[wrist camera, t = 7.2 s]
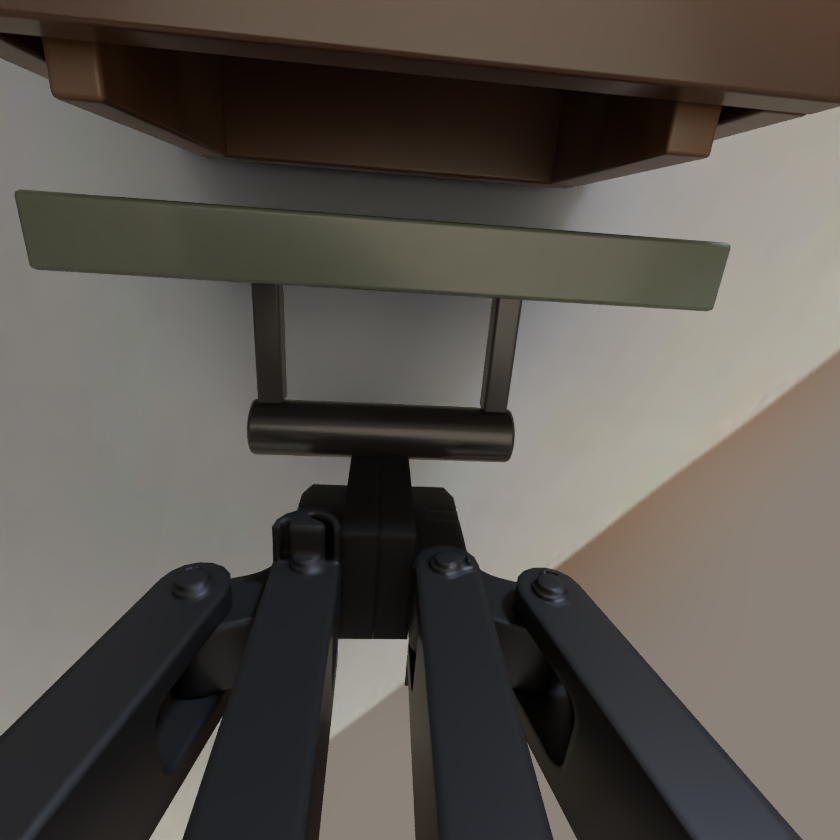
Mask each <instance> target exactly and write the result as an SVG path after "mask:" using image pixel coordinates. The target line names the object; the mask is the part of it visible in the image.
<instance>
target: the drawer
mask: <svg viewBox="0 0 840 840" xmlns="http://www.w3.org/2000/svg"><path fill="white" fill-rule="evenodd" d="M41 38H42V43H43V49H44V55H45V60H46V66H47V71H48V77H49V83H50V88H51V92H52V94H53V96H54V97H55V98H57V99H59V100H61V101H64V102H66V103H69V104H71V105H74V106H77V107H79V108H82V109H84V110H87V111H89V112H92V113H94V114H97V115H99V116H102V117H105V118H107V119H110V120H112V121H115V122H117V123H120V124H122V125H125V126H127V127H130V128H132V129H135V130H138V131H140V132H143V133H145V134H148V135H150V136H153V137H155V138H158V139H160V140H163V141H166V142H168V143H171V144H173V145H176V146H178V147H181V148H183V149H186V150H188V151H191V152H194V153H196V154H199V155H201V156H204V157H206V158H209V159H218V160H230V161H242V162H254V163H266V164H279V165H291V166H303V167H315V168H327V169H339V170H351V171H363V172H375V173H387V174H399V175H411V176H423V177H435V178H447V179H459V180H471V181H483V182H495V183H507V184H519V185H531V186H543V187H555V188H569V187H574V186H580V185H585V184H589V183H594V182H598V181H603V180H608V179H612V178H617V177H621V176H626V175H630V174H635V173H640V172H644V171H649V170H653V169H658V168H662V167H667V166H672V165H676V164H681V163H685V162H690V161H694V160H699V159H703V158H707V157H708V156H709V155H710V152H711V148H712V144H713V140H714V136H715V132H716V128H717V124H718V120H719V116H720V112H721V108H722V105H713V104H704V103H694V102H684V101H674V100H664V99H654V98H644V97H634V96H625V95H615V94H605V93H595V92H585V91H575V90H565V89H555V88H546V87H536V86H526V85H516V84H506V83H496V82H486V81H476V80H467V79H457V78H447V77H437V76H427V75H417V74H407V73H397V72H388V71H378V70H368V69H358V68H348V67H338V66H328V65H318V64H309V63H299V62H289V61H279V60H269V59H259V58H249V57H240V56H230V55H220V54H210V53H200V52H190V51H180V50H170V49H161V48H151V47H141V46H131V45H121V44H111V43H101V42H91V41H82V40H72V39H62V38H52V37H42V36H41ZM15 199H16V204H17V208H18V213H19V218H20V222H21V227H22V232H23V236H24V241H25V245H26V250H27V255H28V259H29V264H30V266H31V267H32V268H34V269H37V270H51V271H67V272H84V273H100V274H116V275H132V276H148V277H164V278H180V279H196V280H212V281H228V282H245V283H251V287H252V305H253V322H254V340H255V357H256V375H257V392H258V399H255V400H254V401H253V402H252V404H251V407H250V410H249V414H248V421H247V439H248V444H249V448H250V451H251V452H252V453H254V454H264V455H295V456H326V457H357V458H388V459H419V460H450V461H481V462H506V461H508V460H509V459H510V457H511V454H512V451H513V446H514V437H515V429H514V421H513V417H512V414H511V412H510V410H508V409H507V404H508V397H509V390H510V383H511V376H512V369H513V362H514V355H515V348H516V341H517V333H518V326H519V319H520V312H521V305H522V300H534V301H550V302H567V303H583V304H599V305H615V306H631V307H647V308H663V309H679V310H695V311H709V310H712V309H713V307H714V303H715V300H716V296H717V293H718V289H719V286H720V282H721V279H722V275H723V272H724V268H725V265H726V261H727V258H728V254H729V251H730V245H729V244H727V243H723V242H709V241H696V240H683V239H669V238H656V237H643V236H630V235H616V234H603V233H590V232H576V231H563V230H550V229H537V228H523V227H510V226H497V225H484V224H470V223H457V222H444V221H430V220H417V219H404V218H391V217H377V216H364V215H351V214H337V213H324V212H311V211H298V210H284V209H271V208H258V207H245V206H231V205H218V204H205V203H191V202H178V201H165V200H152V199H138V198H125V197H112V196H98V195H85V194H72V193H59V192H45V191H32V190H18V191H16V192H15ZM283 285H293V286H309V287H325V288H341V289H357V290H373V291H389V292H406V293H422V294H438V295H454V296H470V297H486V298H492V306H491V314H490V323H489V331H488V339H487V348H486V356H485V364H484V373H483V381H482V389H481V398H480V406H481V408H475V407H452V406H428V405H404V404H380V403H356V402H333V401H309V400H285V398H286V396H287V382H286V353H285V323H284V294H283Z"/></svg>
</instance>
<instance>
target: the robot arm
mask: <svg viewBox="0 0 840 840" xmlns="http://www.w3.org/2000/svg"><path fill="white" fill-rule="evenodd" d="M272 537H273V564H272V566H271V567H269V568H267V569H265V570H263V571H261V572H258V573H254V574H251V575H247V576H242V577H237V578H232V579H231V578H230V573H229V572H228V571H227V570H226V569H225V568H224V567H223V566H220V565H217V564H214V563H202V562H199V563H194V564H189V565H184V566H182V567H180V568H177V569H175V570H172V571H171V572H169V573H168V574H167V575H165V576H164V577H162V578H161V579H160V580H159V581H158V582H157V583H156V584H155V585H154V586H153V587H152V588H151V589H150V590H149V591H148V592H147V593H146V594H145V595H144V596H143V597H142V598H141V599H140V600H139V601H138V602H137V603H136V604H135V605H134V606H132V607H131V608H130V609H129V610H128V611H127V612H126V613H125V614H124V615H123V616H122V617H121V618H120V619H119V620H118V621H117V622H116V623H115V624H114V625H113V626H112V627H111V628H110V629H109V630H108V631H107V632H106V633H105V634H104V635H103V636H102V637H101V638H100V639H99V640H98V641H97V642H96V643H95V644H94V645H93V646H92V647H91V648H90V649H89V650H88V651H87V652H86V653H85V654H84V655H83V656H82V657H81V658H80V659H79V660H78V661H77V662H76V663H75V664H74V665H72V666H71V667H70V668H69V669H68V670H67V671H66V672H65V673H64V674H63V675H62V676H61V677H60V678H59V679H58V680H57V681H56V682H55V683H54V684H53V685H52V686H51V687H50V688H49V689H48V690H47V691H46V692H45V693H44V694H43V695H42V696H41V697H40V698H39V699H38V700H37V701H36V702H35V703H34V704H33V705H32V706H31V707H30V708H29V709H28V710H27V711H26V712H25V713H24V714H23V715H22V716H21V717H20V718H19V719H18V720H17V721H16V722H15V723H13V724H12V725H11V726H10V727H9V728H8V729H7V730H6V731H5V732H4V733H3V734H2V735H1V736H0V840H149V838H150V837H151V835H152V833H153V832H154V830H155V828H156V827H157V825H158V823H159V822H160V820H161V818H162V817H163V815H164V813H165V812H166V810H167V808H168V807H169V805H170V803H171V802H172V800H173V798H174V797H175V795H176V793H177V791H178V790H179V788H180V786H181V785H182V783H183V781H184V780H185V778H186V776H187V775H188V773H189V771H190V770H191V768H192V766H193V765H194V763H195V761H196V760H197V758H198V756H199V755H200V753H201V751H202V750H203V748H204V746H205V744H206V743H207V741H208V739H209V738H210V736H211V734H212V733H213V731H214V729H215V728H216V726H217V724H218V723H219V721H220V719H221V718H222V720H221V723H220V726H219V729H218V732H217V736H216V739H215V742H214V745H213V748H212V751H211V754H210V757H209V760H208V763H207V766H206V769H205V772H204V775H203V778H202V781H201V785H200V788H199V791H198V794H197V797H196V800H195V803H194V806H193V809H192V812H191V815H190V818H189V821H188V824H187V827H186V830H185V833H184V837H183V840H319V830H320V821H321V811H322V802H323V793H324V783H325V773H326V764H327V763H326V762H327V754H328V745H329V735H330V726H331V716H332V706H333V697H334V687H335V678H336V668H337V656H338V639H407V636H408V634H409V644H408V655H407V665H406V676H405V686H408V688H409V709H410V731H411V750H412V751H411V753H412V774H413V794H414V816H415V837H416V840H553V837H552V833H551V829H550V826H549V822H548V818H547V814H546V811H545V807H544V803H543V800H542V796H541V792H540V789H539V785H538V781H537V778H536V774H535V771H534V767H533V763H532V759H531V756H530V752H529V749H528V745H527V743H528V744H529V747H530V749H531V750H532V753H533V754H534V756H535V758H536V760H537V762H538V764H539V766H540V768H541V770H542V772H543V774H544V776H545V778H546V780H547V782H548V784H549V785H550V787H551V789H552V791H553V793H554V795H555V797H556V799H557V801H558V803H559V805H560V807H561V809H562V810H563V813H564V814H565V816H566V818H567V820H568V822H569V824H570V826H571V828H572V830H573V832H574V834H575V836H576V838H577V840H802V839H801V838H800V836H799V835H798V834H797V833H796V832H795V831H794V830H793V829H792V827H791V826H790V825H789V824H788V823H787V822H786V820H785V819H784V818H783V817H782V816H781V815H780V814H779V813H778V811H777V810H776V809H775V808H774V807H773V806H772V804H771V803H770V802H769V801H768V800H767V799H766V798H765V796H764V795H763V794H762V793H761V792H760V791H759V790H758V788H757V787H756V786H755V785H754V784H753V783H752V782H751V780H749V778H748V777H747V776H746V775H745V774H744V773H743V771H742V770H741V769H740V768H739V767H738V766H737V765H736V763H735V762H734V761H733V760H732V759H731V758H730V757H729V755H728V754H727V753H726V752H725V751H724V750H723V749H722V747H721V746H720V745H719V744H718V743H717V742H716V741H715V740H714V738H713V737H712V736H711V735H710V734H709V733H708V732H707V730H706V729H705V728H704V727H703V726H702V725H701V724H700V722H699V721H698V720H697V719H696V718H695V717H694V716H693V714H692V713H691V712H690V711H689V710H688V709H687V708H686V706H685V705H684V704H683V703H682V702H681V701H680V700H679V698H678V697H677V696H676V695H675V694H674V693H673V692H672V690H671V689H670V688H669V687H668V686H667V685H666V684H665V682H664V681H663V680H662V679H661V678H660V677H659V676H658V674H657V673H656V672H655V671H654V670H653V669H652V668H651V667H650V665H649V664H648V663H647V662H646V661H645V660H644V659H643V657H642V656H641V655H640V654H639V653H638V652H637V651H636V649H635V648H634V647H633V646H632V645H631V644H630V643H629V641H628V640H627V639H626V638H625V637H624V636H623V635H622V633H621V632H620V631H619V630H618V629H617V628H616V627H615V625H614V624H613V623H612V622H611V621H610V620H609V619H608V617H607V616H606V615H605V614H604V613H603V612H602V611H601V610H600V608H599V607H598V606H597V605H596V604H595V603H594V602H593V600H592V599H591V598H590V597H589V596H588V595H587V594H586V592H585V591H584V590H583V589H582V588H581V587H580V586H579V585H578V584H577V583H576V582H575V581H574V580H572V578H570V577H569V576H567V575H565V574H563V573H561V572H559V571H556V570H552V569H548V568H531V569H528V570H525V571H523V572H522V573H521V574H520V575H519V576H518V580H517V582H513V581H509V580H505V579H501V578H498V577H495V576H492V575H489V574H487V573H485V572H483V571H481V570H480V568H479V565H478V563H477V561H476V560H475V558H474V557H473V556H472V555H470V554H469V553H468V552H467V550H466V546H465V542H464V538H463V534H462V530H461V526H460V522H459V520H458V515H457V511H456V507H455V503H454V499H453V497H452V496H451V495H450V494H449V493H448V492H447V491H446V490H445V489H444V488H440V487H412V486H411V478H410V468H409V459H388V458H357V457H352V458H351V464H350V471H349V478H348V485H319V484H313V485H312V486H311V487H309V488H308V489H307V490H306V491H305V492H304V493H303V494H302V496H301V499H300V503H299V507H298V509H297V511H294V512H291V513H287V514H285V515H284V516H282V517H280V518H279V519H277V521H276V522H275V523H274V525H273V526H272ZM222 716H223V717H222Z"/></svg>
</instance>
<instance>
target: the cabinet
mask: <svg viewBox="0 0 840 840" xmlns="http://www.w3.org/2000/svg"><path fill="white" fill-rule="evenodd" d="M41 36H42V37H52V38H62V39H72V40H82V41H91V42H101V43H111V44H121V45H131V46H141V47H151V48H161V49H170V50H180V51H190V52H200V53H210V54H220V55H230V56H240V57H249V58H259V59H269V60H279V61H289V62H299V63H309V64H318V65H328V66H338V67H348V68H358V69H368V70H378V71H388V72H397V73H407V74H417V75H427V76H437V77H447V78H457V79H467V80H476V81H486V82H496V83H506V84H516V85H526V86H536V87H546V88H555V89H565V90H575V91H585V92H595V93H605V94H615V95H625V96H634V97H644V98H654V99H664V100H674V101H684V102H694V103H704V104H713V105H722V108H721V112H720V116H719V120H718V124H717V128H716V132H715V136H714V140H716V139H720V138H723V137H727V136H731V135H735V134H738V133H742V132H746V131H750V130H753V129H757V128H761V127H764V126H768V125H772V124H776V123H779V122H783V121H787V120H791V119H794V118H798V117H802V116H804V115H806V114H813V113H817V112H821V111H824V110H828V109H832V108H836V107H839V106H840V0H0V58H2V59H4V60H6V61H9V62H11V63H13V64H15V65H18V66H20V67H22V68H24V69H27V70H29V71H31V72H34V73H36V74H38V75H40V76H43V77H45V78H47V79H49V77H48V71H47V66H46V60H45V55H44V49H43V43H42V38H41Z"/></svg>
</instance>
